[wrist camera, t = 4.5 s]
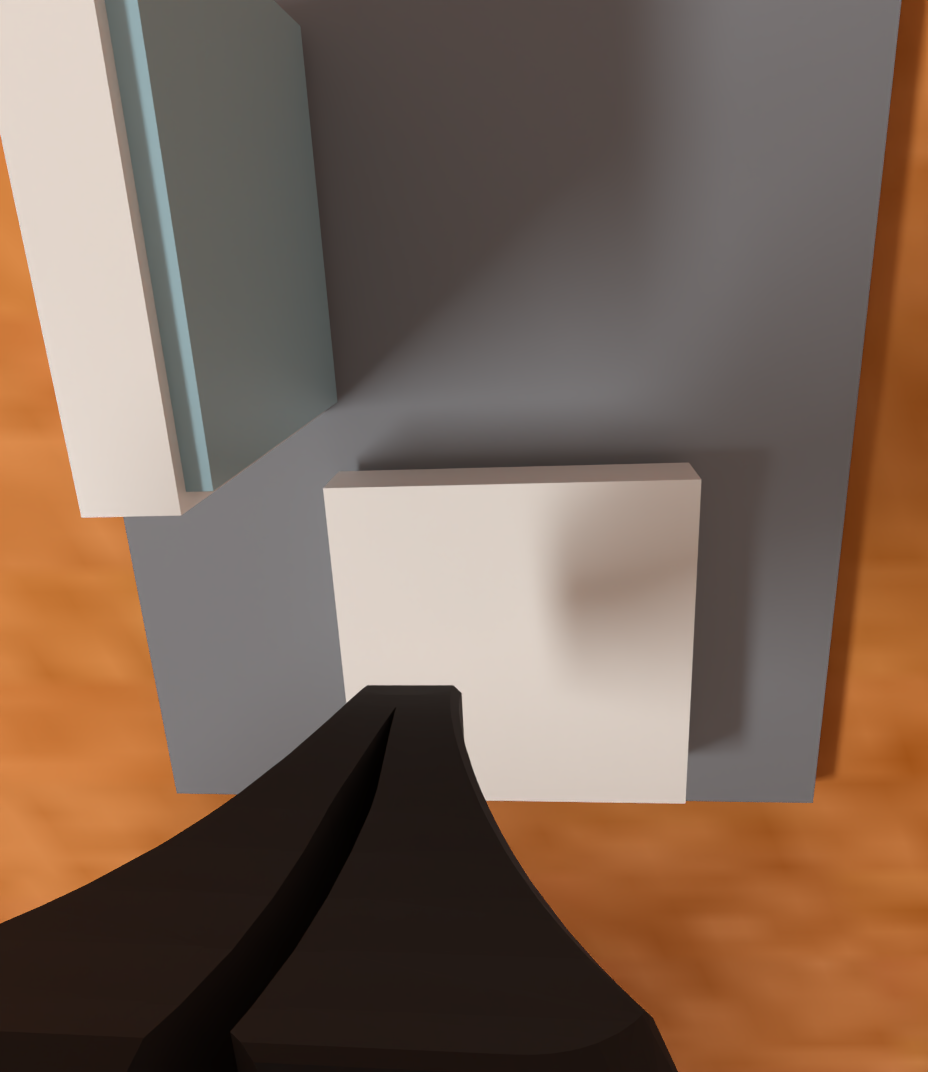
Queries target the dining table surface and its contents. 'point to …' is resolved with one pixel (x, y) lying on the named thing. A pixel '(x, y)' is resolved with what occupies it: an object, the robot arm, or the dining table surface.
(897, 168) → the dining table surface
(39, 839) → the dining table surface
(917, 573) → the dining table surface
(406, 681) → the tile
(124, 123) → the tile
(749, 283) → the mat
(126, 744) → the dining table surface
